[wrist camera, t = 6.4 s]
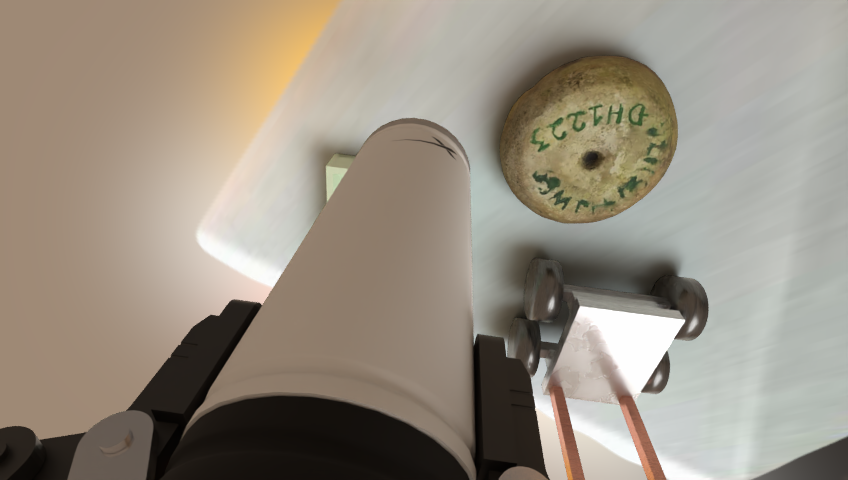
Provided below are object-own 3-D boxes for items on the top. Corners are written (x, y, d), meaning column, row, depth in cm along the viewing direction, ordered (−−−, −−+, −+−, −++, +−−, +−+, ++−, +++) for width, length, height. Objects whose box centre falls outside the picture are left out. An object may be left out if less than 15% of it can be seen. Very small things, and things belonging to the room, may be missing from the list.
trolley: (535, 246, 40) (586, 431, 24) (686, 265, 40) (844, 466, 23) (505, 344, 48) (528, 536, 31) (632, 361, 48) (722, 563, 31)
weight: (489, 203, 38) (492, 230, 34) (511, 48, 31) (519, 58, 27) (634, 214, 38) (656, 243, 34) (692, 58, 30) (729, 70, 26)
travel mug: (446, 92, 20) (345, 660, 3) (484, 204, 23) (530, 787, 6) (336, 133, 22) (-107, 650, 5) (385, 233, 25) (217, 756, 8)
